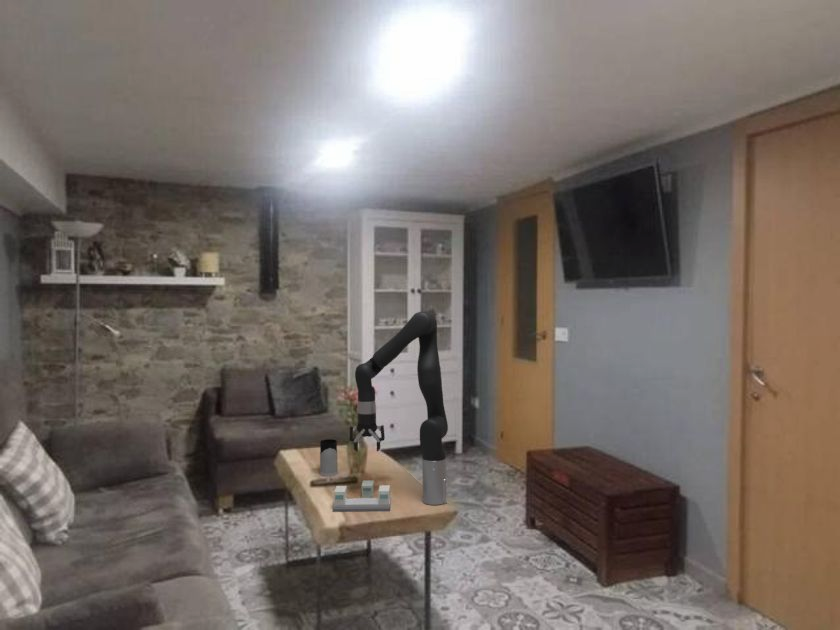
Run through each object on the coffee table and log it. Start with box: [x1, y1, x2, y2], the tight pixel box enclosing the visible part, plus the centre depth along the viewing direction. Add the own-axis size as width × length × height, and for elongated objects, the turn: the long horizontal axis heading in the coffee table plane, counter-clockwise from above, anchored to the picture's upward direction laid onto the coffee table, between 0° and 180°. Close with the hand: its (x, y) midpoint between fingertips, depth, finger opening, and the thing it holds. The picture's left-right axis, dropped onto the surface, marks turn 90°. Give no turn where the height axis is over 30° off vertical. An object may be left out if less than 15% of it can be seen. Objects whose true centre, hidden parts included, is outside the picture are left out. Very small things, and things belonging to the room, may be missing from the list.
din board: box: [332, 484, 392, 513], centre depth 231 cm, size 22×12×7 cm, turn 91°
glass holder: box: [318, 438, 339, 477], centre depth 277 cm, size 9×14×15 cm, turn 16°
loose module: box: [361, 479, 375, 498], centre depth 244 cm, size 4×7×5 cm, turn 0°
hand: (367, 451), depth 244 cm, fingers open, 8 cm apart
